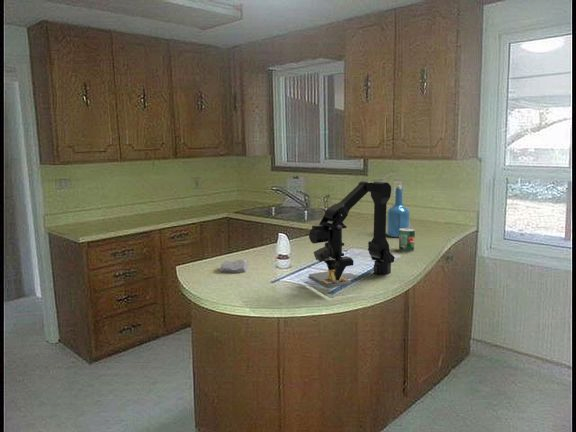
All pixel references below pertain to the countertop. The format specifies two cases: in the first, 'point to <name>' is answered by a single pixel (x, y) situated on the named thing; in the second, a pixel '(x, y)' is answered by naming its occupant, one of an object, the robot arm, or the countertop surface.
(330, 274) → the brass clip
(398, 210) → the wine bottle
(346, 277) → the tab
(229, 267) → the stone block
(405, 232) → the canned tomato
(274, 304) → the countertop surface
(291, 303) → the countertop surface
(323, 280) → the rail plate
